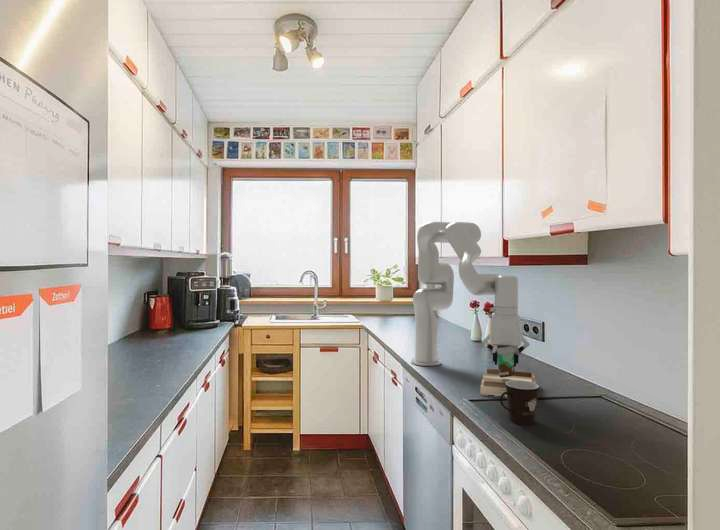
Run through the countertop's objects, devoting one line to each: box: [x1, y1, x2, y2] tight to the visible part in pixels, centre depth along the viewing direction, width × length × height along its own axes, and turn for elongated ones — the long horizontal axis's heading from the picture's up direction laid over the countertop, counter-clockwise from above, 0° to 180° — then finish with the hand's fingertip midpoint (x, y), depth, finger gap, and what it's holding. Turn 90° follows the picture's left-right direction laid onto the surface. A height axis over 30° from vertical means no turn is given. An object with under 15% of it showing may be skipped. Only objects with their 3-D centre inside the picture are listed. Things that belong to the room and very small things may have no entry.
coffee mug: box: [499, 380, 540, 426], centre depth 124 cm, size 12×9×10 cm
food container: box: [496, 345, 516, 378], centre depth 153 cm, size 12×6×10 cm, turn 165°
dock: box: [480, 368, 537, 398], centre depth 153 cm, size 18×17×4 cm
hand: (505, 364), depth 154 cm, fingers closed on food container, 5 cm apart
